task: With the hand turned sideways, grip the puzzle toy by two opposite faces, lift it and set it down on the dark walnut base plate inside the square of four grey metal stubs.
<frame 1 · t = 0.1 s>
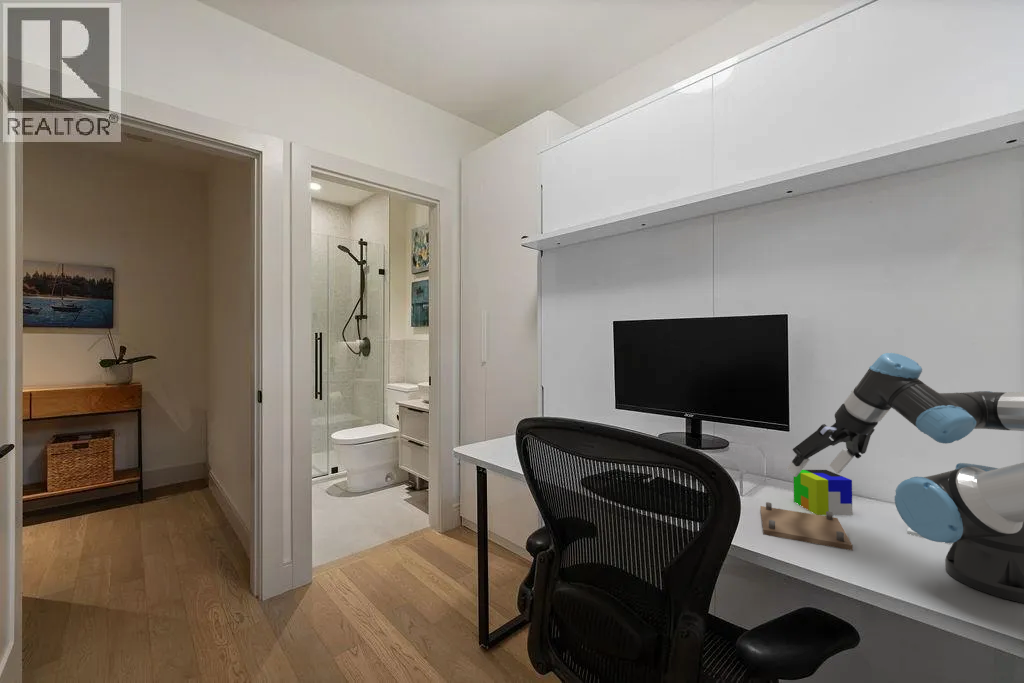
hand: (813, 470, 110), 15 cm above the table, tool tilted 35°, fingers open, 13 cm apart
base plate: (801, 528, 110), on the table
external hard drive: (943, 540, 105), on the table
puzzle toy: (821, 509, 124), on the table
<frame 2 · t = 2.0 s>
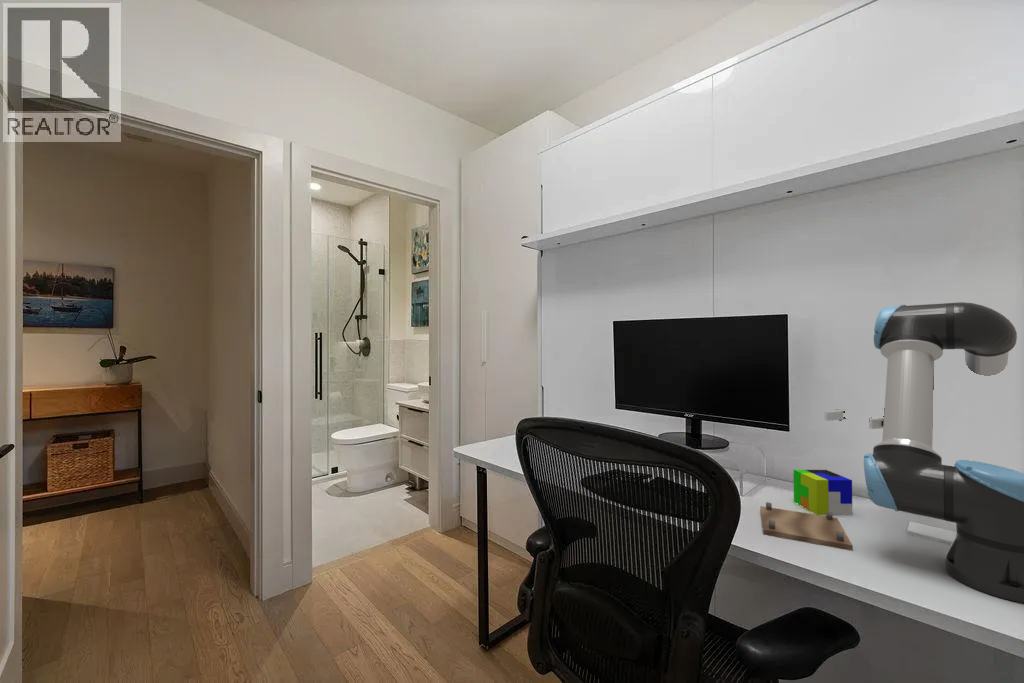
hand: (847, 419, 126), 26 cm above the table, tool horizontal, fingers open, 13 cm apart
nothing on the table moved.
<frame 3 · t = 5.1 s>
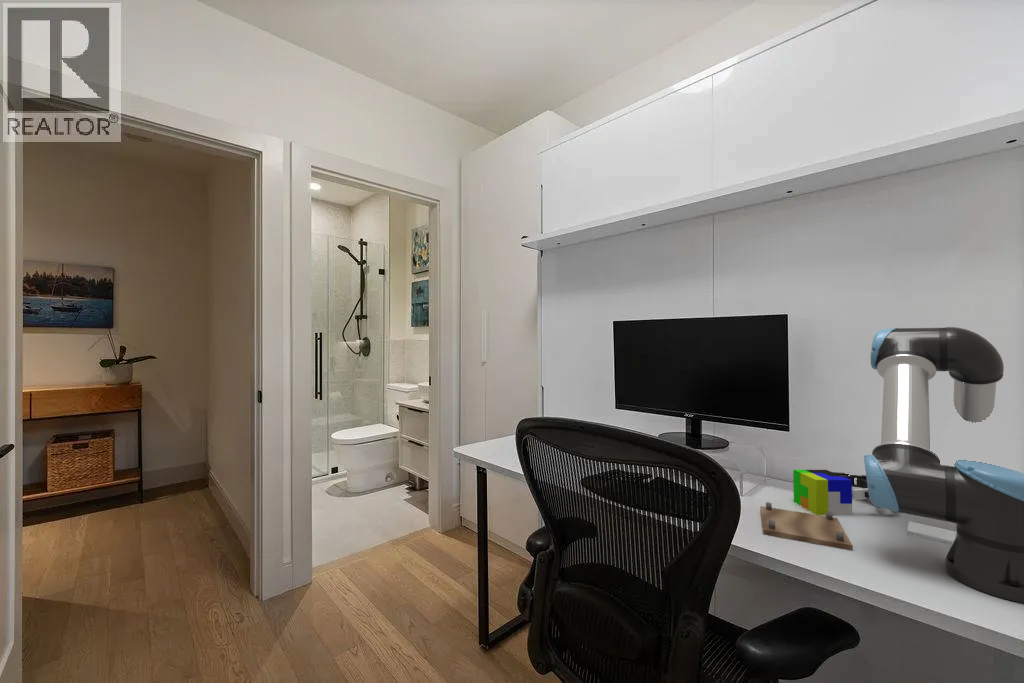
hand: (830, 486, 125), 6 cm above the table, tool horizontal, fingers open, 13 cm apart
puzzle toy: (821, 509, 124), on the table, touching gripper
everything else where it was.
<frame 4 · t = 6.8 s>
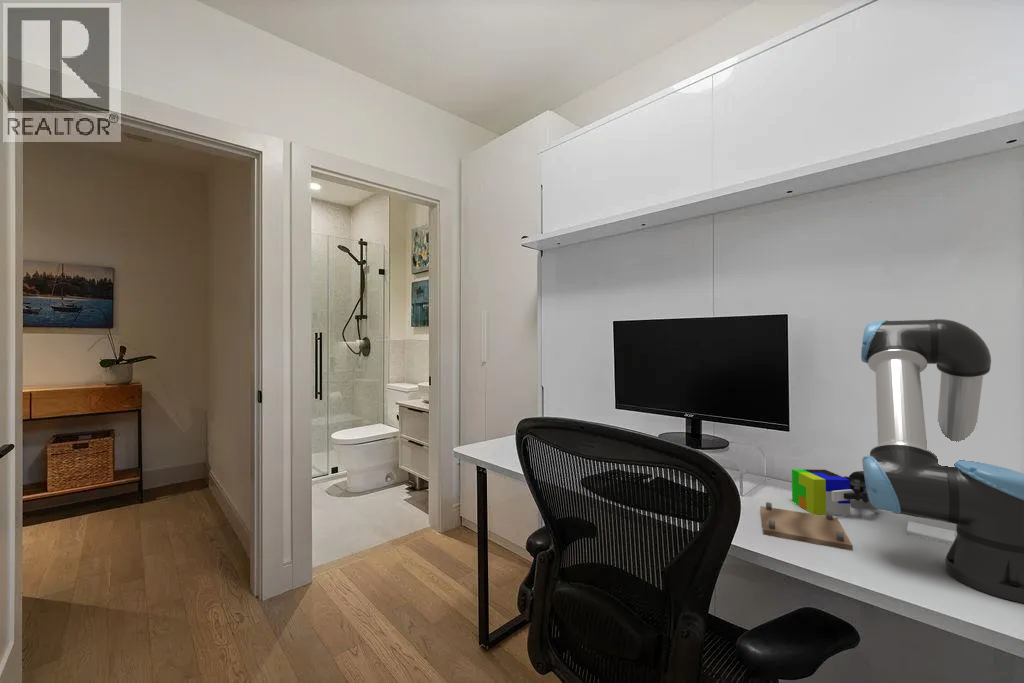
hand: (811, 488, 123), 6 cm above the table, tool horizontal, fingers closed on puzzle toy, 12 cm apart
puzzle toy: (820, 508, 124), on the table, touching gripper
everything else where it was.
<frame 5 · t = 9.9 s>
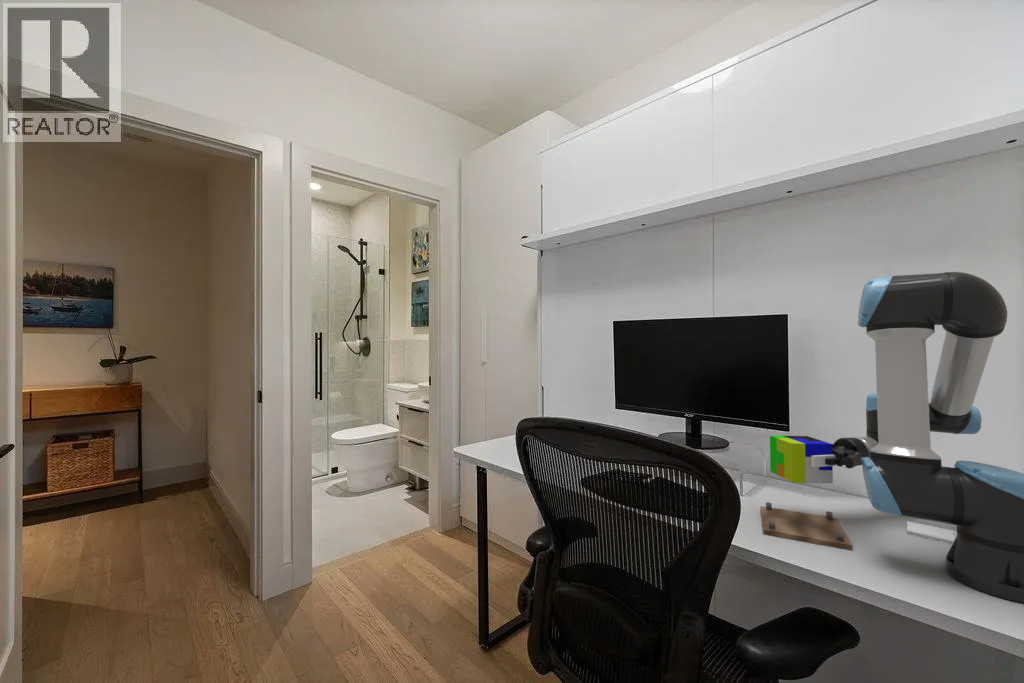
hand: (790, 455, 112), 19 cm above the table, tool horizontal, fingers closed on puzzle toy, 12 cm apart
puzzle toy: (800, 477, 112), point 13 cm above the table, touching gripper
everything else where it was.
when the fingers open (9 cm above the table, at t = 13.3 s): puzzle toy drops 1 cm, resting on base plate.
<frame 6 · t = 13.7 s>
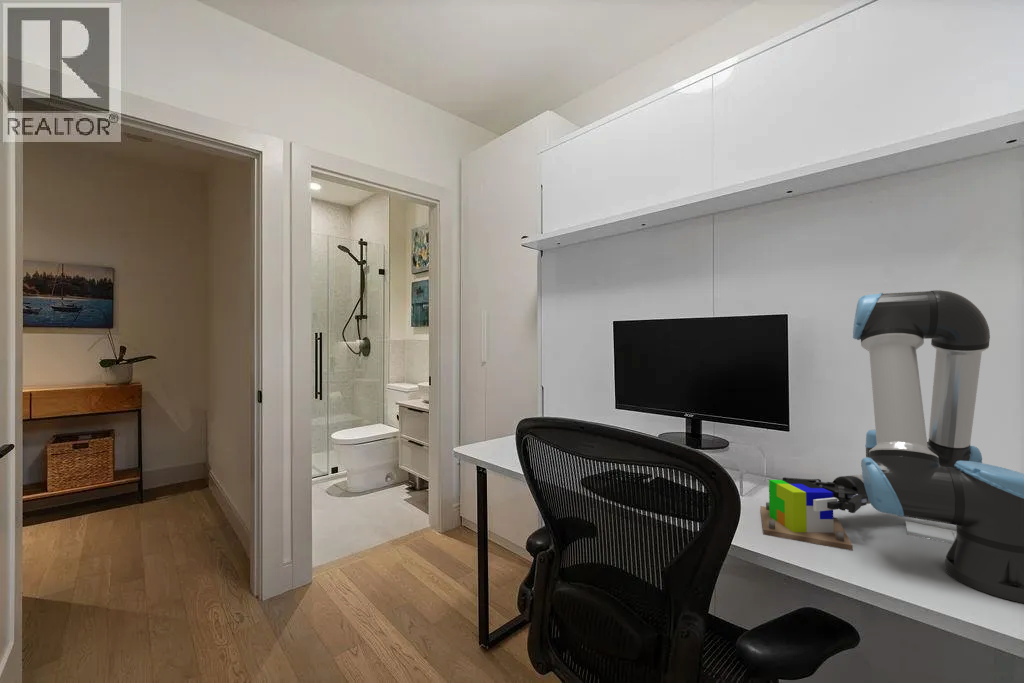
hand: (790, 495, 110), 9 cm above the table, tool horizontal, fingers open, 13 cm apart
puzzle toy: (799, 524, 110), point 1 cm above the table, touching base plate
everything else where it was.
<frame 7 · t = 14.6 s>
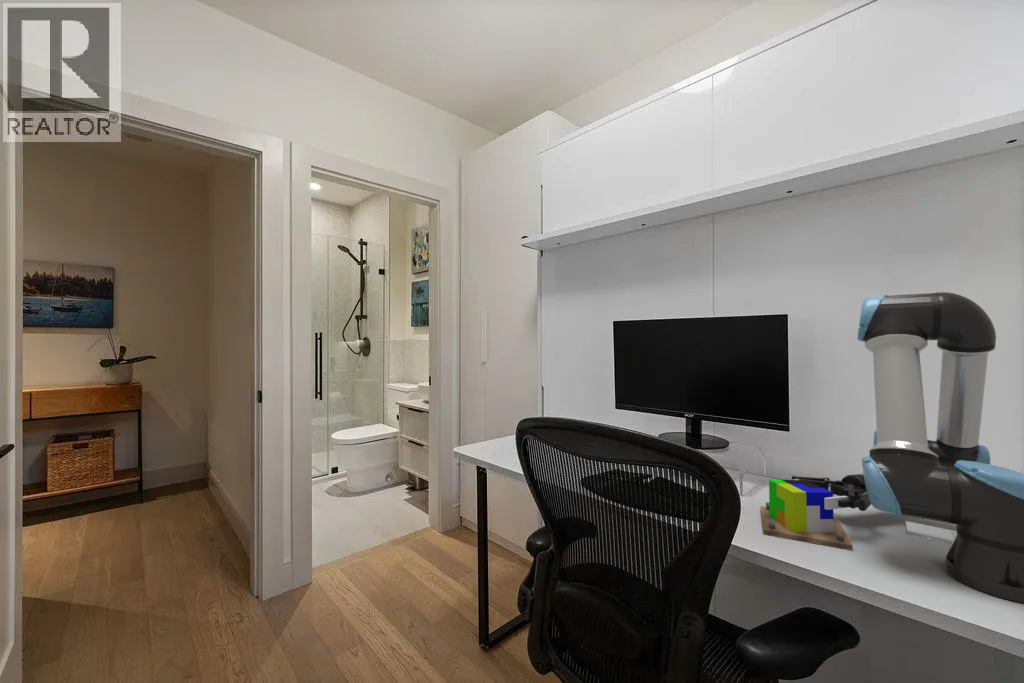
hand: (801, 494, 111), 9 cm above the table, tool horizontal, fingers open, 13 cm apart
puzzle toy: (800, 524, 110), point 1 cm above the table, touching base plate, gripper
everything else where it was.
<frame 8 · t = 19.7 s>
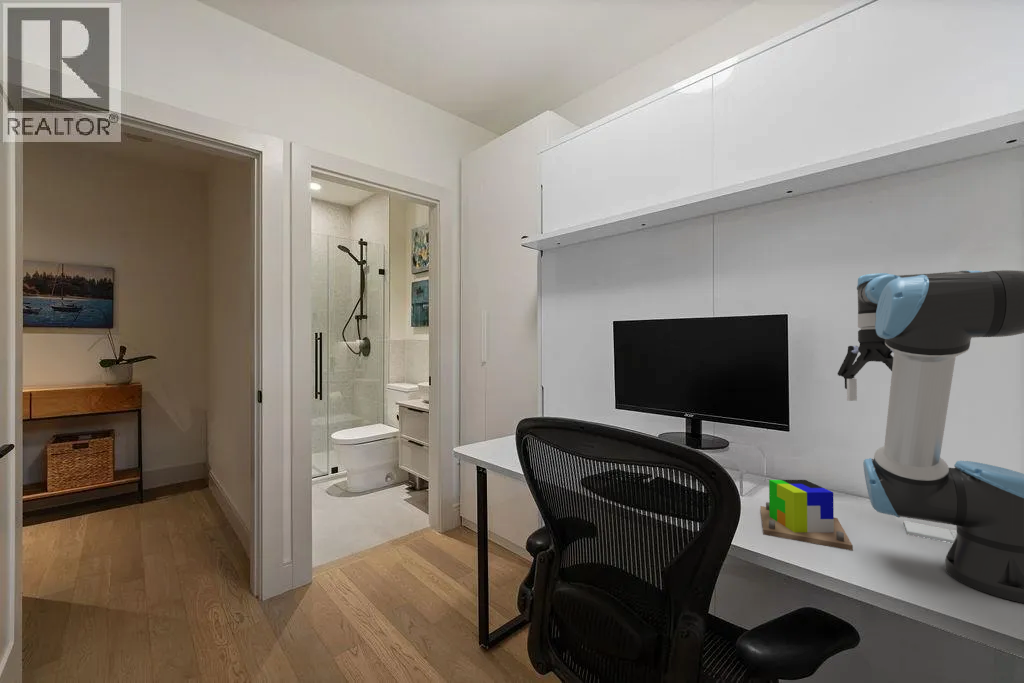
hand: (876, 403, 119), 32 cm above the table, tool pointing down, fingers open, 13 cm apart
puzzle toy: (800, 524, 110), point 1 cm above the table, touching base plate
at the end: puzzle toy inside the target area on the base plate (0.6 cm from its centre), point 1.0 cm above the base plate's base; puzzle toy tilted 0°; the gripper is holding nothing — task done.
